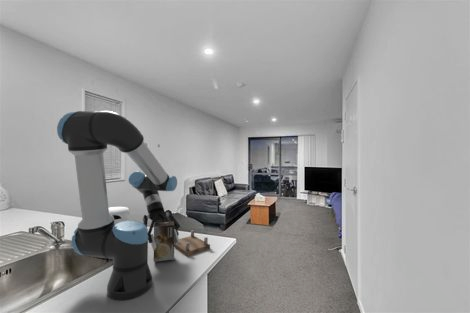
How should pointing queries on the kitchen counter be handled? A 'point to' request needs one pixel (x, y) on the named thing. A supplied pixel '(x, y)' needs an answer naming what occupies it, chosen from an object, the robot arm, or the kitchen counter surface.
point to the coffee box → (164, 241)
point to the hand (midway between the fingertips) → (166, 245)
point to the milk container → (119, 214)
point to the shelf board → (191, 244)
